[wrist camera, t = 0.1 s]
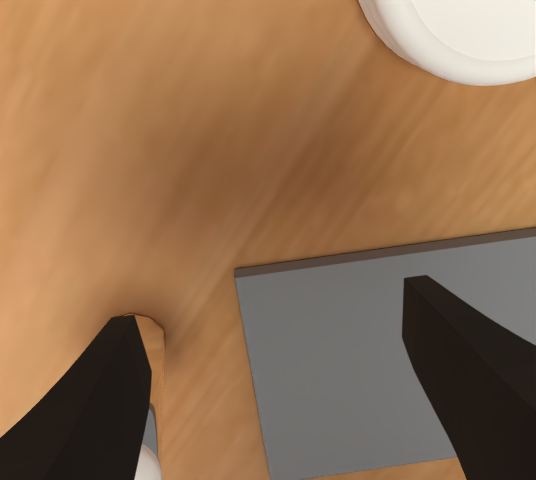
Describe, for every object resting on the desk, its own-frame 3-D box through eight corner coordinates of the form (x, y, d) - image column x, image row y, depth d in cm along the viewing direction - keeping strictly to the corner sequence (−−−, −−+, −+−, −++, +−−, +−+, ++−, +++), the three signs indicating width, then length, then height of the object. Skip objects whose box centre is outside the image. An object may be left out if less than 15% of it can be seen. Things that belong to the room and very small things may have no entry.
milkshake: (125, 276, 24) (68, 456, 15) (195, 342, 26) (181, 530, 17) (58, 322, 25) (-32, 516, 16) (131, 382, 27) (87, 578, 18)
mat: (510, 437, 32) (516, 448, 31) (270, 472, 32) (271, 484, 31) (553, 225, 24) (563, 232, 23) (234, 269, 24) (234, 278, 23)
